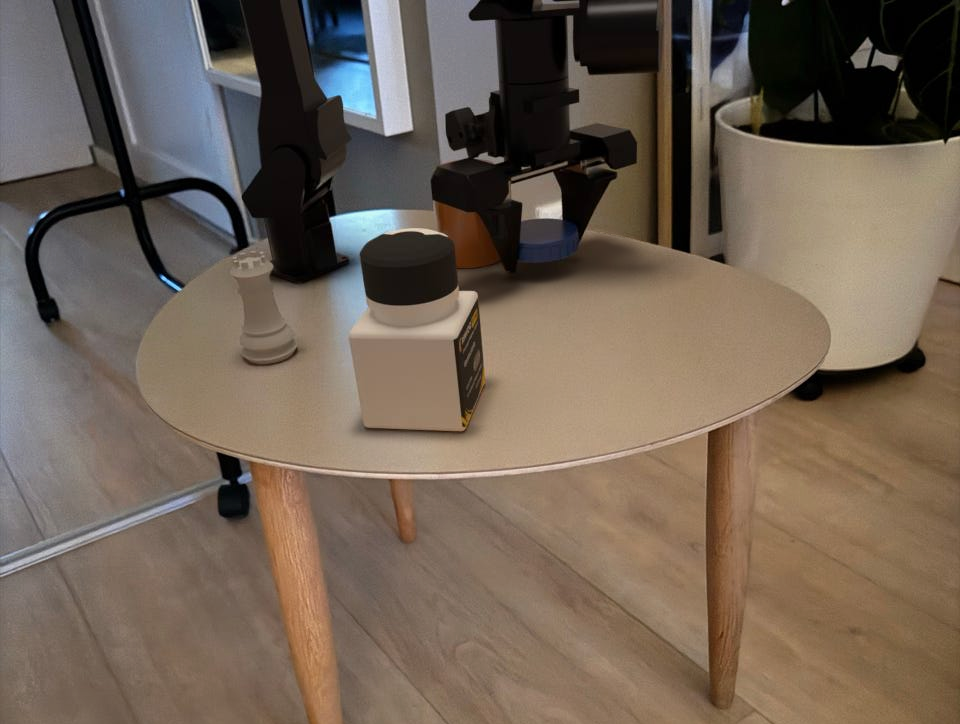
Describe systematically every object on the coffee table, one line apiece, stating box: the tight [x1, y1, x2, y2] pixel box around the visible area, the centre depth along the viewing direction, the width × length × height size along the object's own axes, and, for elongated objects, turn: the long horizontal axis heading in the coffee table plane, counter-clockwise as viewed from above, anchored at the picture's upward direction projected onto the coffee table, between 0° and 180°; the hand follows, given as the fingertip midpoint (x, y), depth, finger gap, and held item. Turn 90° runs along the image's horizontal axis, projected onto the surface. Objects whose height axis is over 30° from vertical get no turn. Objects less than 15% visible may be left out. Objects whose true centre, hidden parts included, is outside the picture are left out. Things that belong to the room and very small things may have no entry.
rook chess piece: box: [229, 250, 298, 365], centre depth 71 cm, size 4×4×8 cm
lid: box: [518, 217, 580, 263], centre depth 82 cm, size 7×7×2 cm
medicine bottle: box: [348, 227, 486, 432], centre depth 61 cm, size 7×7×12 cm
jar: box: [432, 158, 501, 269], centre depth 86 cm, size 6×6×8 cm
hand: (541, 261), depth 83 cm, fingers closed on lid, 7 cm apart
